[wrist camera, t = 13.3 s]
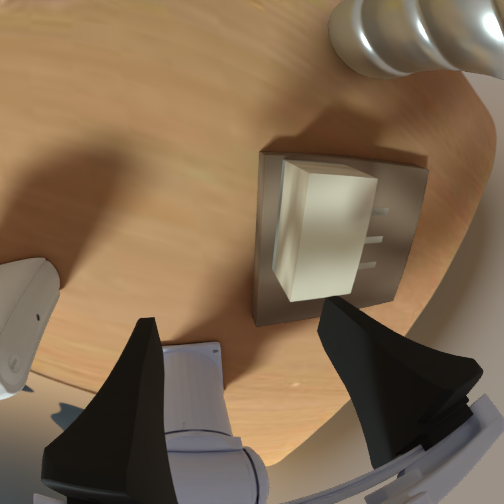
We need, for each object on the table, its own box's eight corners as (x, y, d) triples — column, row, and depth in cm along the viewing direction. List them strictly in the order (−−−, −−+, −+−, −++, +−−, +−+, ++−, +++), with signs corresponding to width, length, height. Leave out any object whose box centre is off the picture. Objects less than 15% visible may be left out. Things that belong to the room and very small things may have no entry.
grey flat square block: (385, 292, 28) (393, 300, 26) (251, 315, 24) (256, 327, 23) (417, 165, 21) (429, 170, 20) (259, 151, 18) (265, 155, 16)
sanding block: (325, 264, 21) (350, 293, 18) (271, 268, 20) (290, 301, 17) (343, 163, 18) (377, 178, 14) (282, 159, 17) (309, 173, 13)
